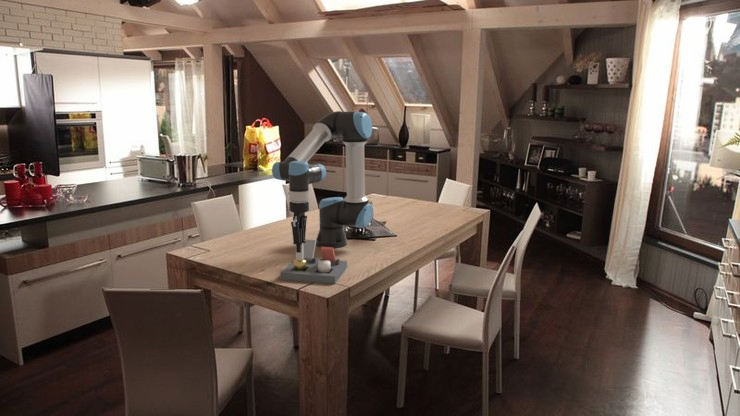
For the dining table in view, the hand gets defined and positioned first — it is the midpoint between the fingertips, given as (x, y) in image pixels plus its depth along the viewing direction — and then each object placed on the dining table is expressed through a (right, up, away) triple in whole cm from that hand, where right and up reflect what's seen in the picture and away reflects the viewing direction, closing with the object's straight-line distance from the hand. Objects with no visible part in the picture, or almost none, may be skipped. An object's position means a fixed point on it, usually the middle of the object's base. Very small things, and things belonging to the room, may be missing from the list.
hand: (299, 259), depth 199 cm
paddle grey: (+2, -1, +9) cm, 10 cm away
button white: (+10, -4, -1) cm, 11 cm away
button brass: (0, -4, +1) cm, 4 cm away
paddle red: (+11, -2, +8) cm, 14 cm away
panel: (+6, -6, +5) cm, 9 cm away
